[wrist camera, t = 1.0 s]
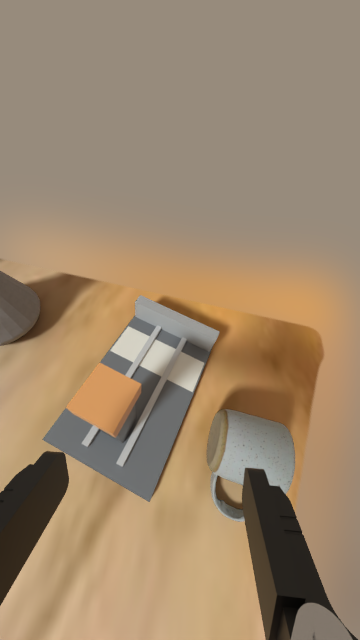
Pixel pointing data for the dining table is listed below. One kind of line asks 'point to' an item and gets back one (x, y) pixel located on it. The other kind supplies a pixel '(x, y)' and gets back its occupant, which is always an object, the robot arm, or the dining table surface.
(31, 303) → the coffee pot
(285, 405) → the dining table surface
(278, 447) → the ceramic mug
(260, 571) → the robot arm
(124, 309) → the dining table surface
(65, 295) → the dining table surface
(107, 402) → the fader
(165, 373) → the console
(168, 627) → the dining table surface
